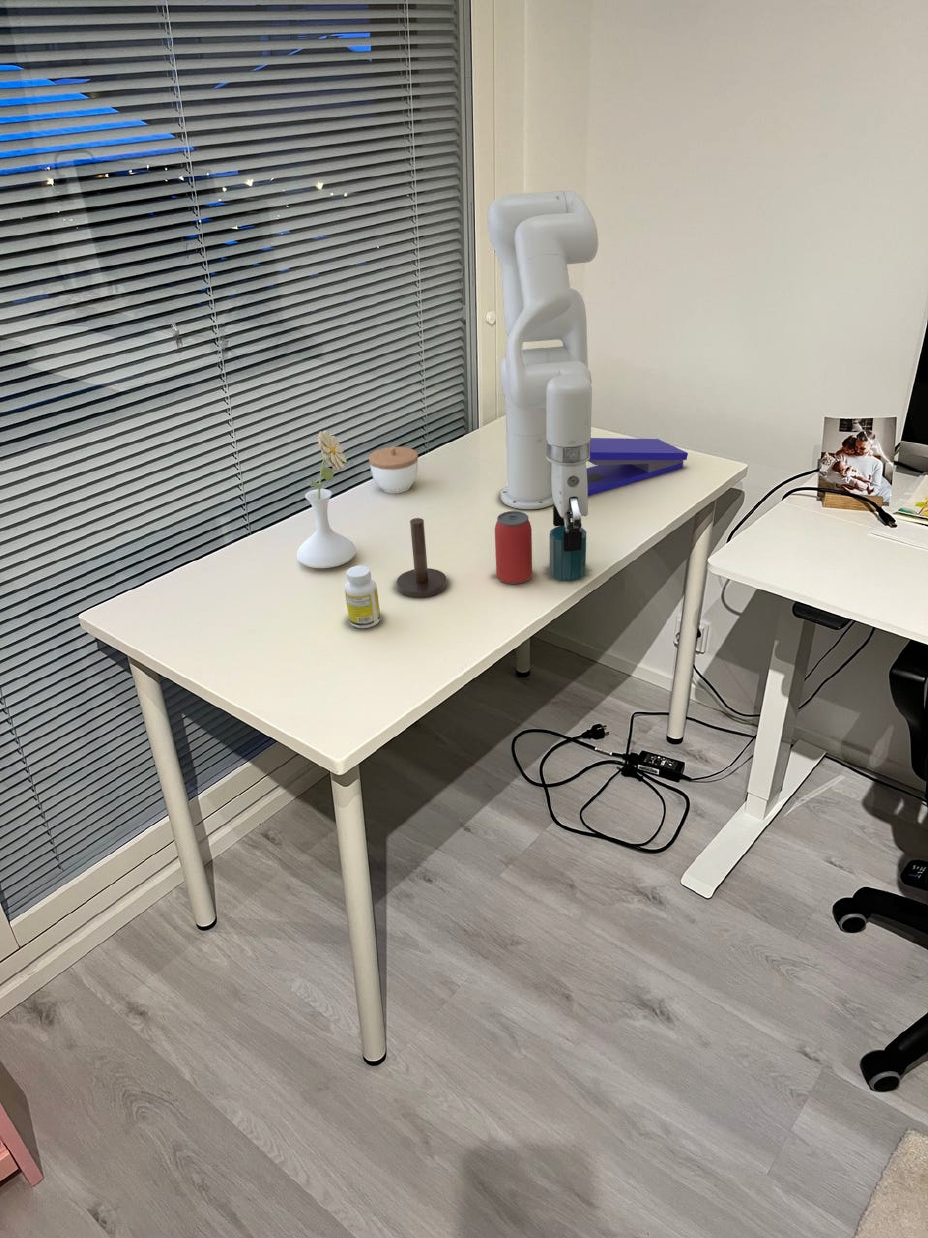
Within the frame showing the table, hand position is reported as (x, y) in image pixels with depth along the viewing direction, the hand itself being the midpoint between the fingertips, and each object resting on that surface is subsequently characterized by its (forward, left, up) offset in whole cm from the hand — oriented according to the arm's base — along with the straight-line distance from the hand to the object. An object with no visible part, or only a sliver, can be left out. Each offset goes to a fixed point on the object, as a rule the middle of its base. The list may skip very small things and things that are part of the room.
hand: (566, 537), depth 173 cm
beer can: (+7, -7, -7) cm, 12 cm away
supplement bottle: (+34, -19, -7) cm, 40 cm away
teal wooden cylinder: (+1, +1, -7) cm, 7 cm away
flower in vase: (+21, -41, -7) cm, 46 cm away
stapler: (-44, -15, -7) cm, 46 cm away
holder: (+19, -19, -7) cm, 28 cm away
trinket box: (-11, -53, -7) cm, 54 cm away
